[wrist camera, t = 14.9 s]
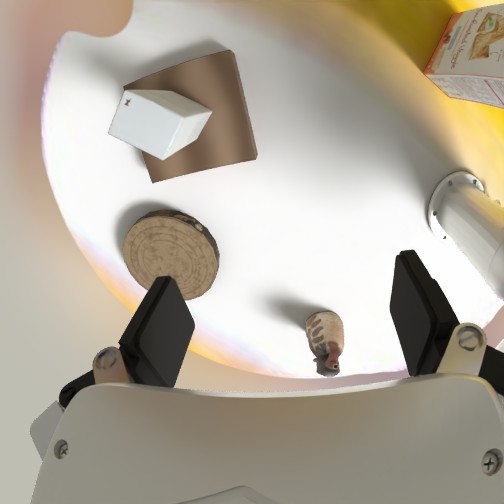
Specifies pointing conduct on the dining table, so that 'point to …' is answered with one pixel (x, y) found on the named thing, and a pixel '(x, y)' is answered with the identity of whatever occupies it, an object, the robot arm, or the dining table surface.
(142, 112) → the skincare box
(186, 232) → the wood slice coaster
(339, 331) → the figurine
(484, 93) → the cracker box
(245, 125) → the walnut base
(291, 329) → the dining table surface
